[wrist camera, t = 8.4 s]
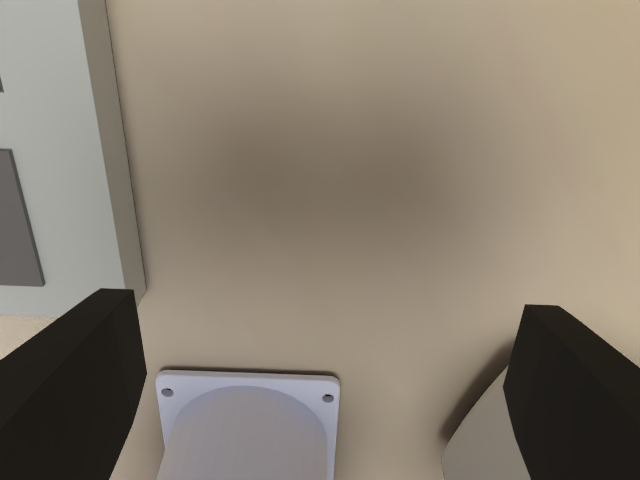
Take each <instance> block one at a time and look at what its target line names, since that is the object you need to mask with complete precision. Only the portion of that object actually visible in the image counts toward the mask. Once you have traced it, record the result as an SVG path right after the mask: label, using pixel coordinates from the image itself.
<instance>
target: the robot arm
mask: <svg viewBox="0 0 640 480" xmlns="http://www.w3.org/2000/svg"><path fill="white" fill-rule="evenodd" d="M146 376H147V370H146V364H145V358H144V351H143V345H142V339H141V332H140V326H139V320H138V313H137V307H136V301H135V294H134V289H110V288H100V289H99V290H97V291H96V292H94V293H92V294H91V295H90V296H88V297H87V298H85V299H84V300H83V301H81V302H80V303H78V304H77V305H76V306H74V307H73V308H72V309H70V310H69V311H68V312H66V313H65V314H63V315H62V316H61V317H59V318H58V319H57V320H55V321H54V322H53V323H51V324H50V325H49V326H47V327H46V328H44V329H43V330H42V331H40V332H39V333H38V334H36V335H35V336H33V337H32V338H31V339H29V340H28V341H27V342H25V343H24V344H22V345H21V346H20V347H18V348H17V349H15V350H14V351H13V352H11V353H10V354H8V355H7V356H6V357H4V358H3V359H1V360H0V480H109V478H110V476H111V474H112V471H113V469H114V467H115V465H116V462H117V460H118V458H119V455H120V453H121V450H122V448H123V446H124V443H125V441H126V439H127V436H128V434H129V432H130V429H131V427H132V424H133V421H134V418H135V415H136V411H137V408H138V405H139V401H140V398H141V394H142V390H143V387H144V383H145V379H146ZM155 386H156V392H157V399H158V406H159V412H160V419H161V426H162V432H163V439H164V446H165V452H164V456H163V459H162V462H161V465H160V468H159V471H158V475H157V478H156V480H333V477H334V464H335V450H336V437H337V424H338V411H339V398H340V382H339V380H338V379H337V378H335V377H333V376H321V375H294V374H267V373H240V372H213V371H187V370H163V371H161V372H159V373H158V375H157V377H156V380H155ZM165 388H169V389H171V391H170V390H167V389H165ZM503 391H504V395H505V399H506V404H507V408H508V413H509V417H510V420H511V424H512V428H513V432H514V436H515V439H516V442H517V444H518V447H519V450H520V452H521V455H522V458H523V460H524V463H525V465H526V468H527V471H528V473H529V476H530V478H531V480H640V368H639V367H638V366H636V365H635V364H634V363H633V362H631V361H630V360H629V359H627V358H626V357H625V356H624V355H622V354H621V353H620V352H618V351H617V350H616V349H615V348H613V347H612V346H611V345H610V344H608V343H607V342H606V341H605V340H603V339H602V338H601V337H599V336H598V335H597V334H596V333H594V332H593V331H592V330H591V329H589V328H588V327H587V326H585V325H584V324H583V323H582V322H580V321H579V320H578V319H576V318H575V317H574V316H572V315H571V314H570V313H568V312H567V311H565V310H564V309H562V308H561V307H560V306H553V305H527V304H525V307H524V311H523V314H522V318H521V322H520V325H519V329H518V333H517V336H516V340H515V344H514V347H513V351H512V354H511V358H510V362H509V365H508V369H507V373H506V376H505V380H504V384H503ZM326 394H330V395H331V396H325V395H326Z"/></svg>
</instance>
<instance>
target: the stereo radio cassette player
mask: <svg viewBox="0 0 640 480" xmlns="http://www.w3.org/2000/svg"><path fill="white" fill-rule="evenodd" d="M507 369H508V366H507V367H506V368H505V369H504V370H503V372H502V373H501V374H500V375H499V376H498V377H497V378H496V380H495V381H494V382H493V383H492V384H491V385H490V387H489V388H488V389H487V390H486V391H485V392H484V394H483V395H482V396H481V397H480V399H479V400H478V401H477V403H476V404H475V405H474V406H473V408H472V409H471V410H470V412H469V413H468V414H467V415H466V417H465V418H464V420H463V421H462V423H461V424H460V426H459V427H458V429H457V430H456V432H455V433H454V435H453V437H452V438H451V440H450V441H449V443H448V444H447V446H446V447H445V449H444V451H443V452H442V454H441V464H442V469H443V473H444V478H445V480H531V478H530V476H529V473H528V471H527V468H526V465H525V463H524V460H523V458H522V455H521V452H520V450H519V447H518V444H517V442H516V439H515V436H514V432H513V428H512V424H511V420H510V417H509V413H508V408H507V404H506V399H505V395H504V391H503V384H504V380H505V376H506V373H507Z"/></svg>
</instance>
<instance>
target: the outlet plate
mask: <svg viewBox="0 0 640 480" xmlns="http://www.w3.org/2000/svg"><path fill="white" fill-rule="evenodd" d="M100 288H110V289H134V294H135V301H136V307H138V305H139V303H140V301H141V299H142V297H143V295H144V293H145V291H146V283H145V276H144V269H143V262H142V256H141V249H140V242H139V235H138V228H137V221H136V214H135V207H134V200H133V193H132V186H131V179H130V172H129V165H128V158H127V151H126V144H125V137H124V130H123V124H122V117H121V110H120V103H119V96H118V89H117V82H116V75H115V68H114V61H113V54H112V47H111V40H110V33H109V26H108V19H107V12H106V5H105V0H0V316H24V317H50V318H59V317H61V316H62V315H63V314H65V313H66V312H68V311H69V310H70V309H72V308H73V307H74V306H76V305H77V304H78V303H80V302H81V301H83V300H84V299H85V298H87V297H88V296H90V295H91V294H92V293H94V292H96V291H97V290H99V289H100Z"/></svg>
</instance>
